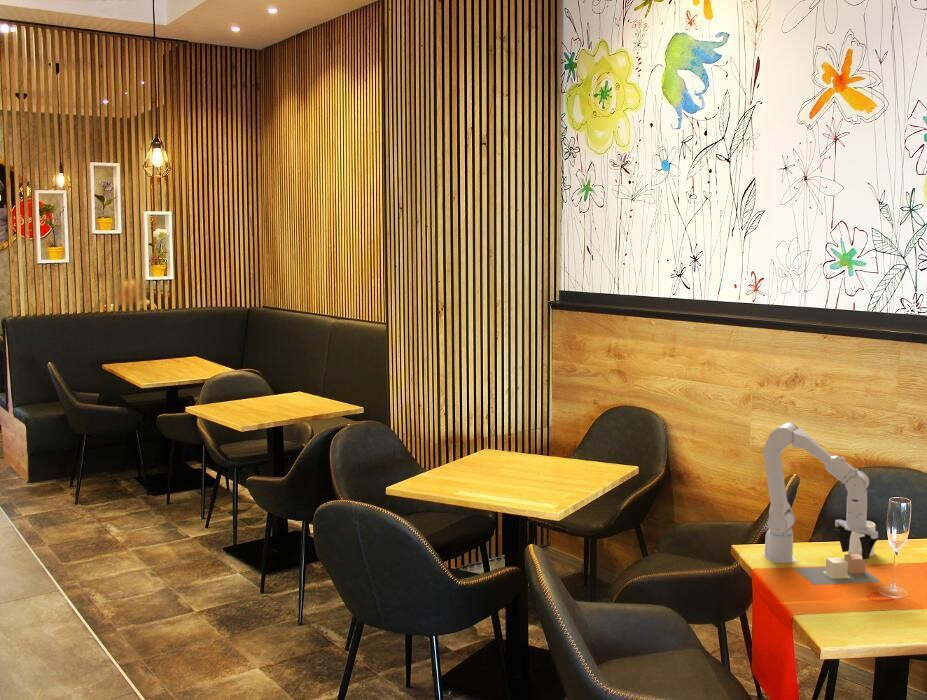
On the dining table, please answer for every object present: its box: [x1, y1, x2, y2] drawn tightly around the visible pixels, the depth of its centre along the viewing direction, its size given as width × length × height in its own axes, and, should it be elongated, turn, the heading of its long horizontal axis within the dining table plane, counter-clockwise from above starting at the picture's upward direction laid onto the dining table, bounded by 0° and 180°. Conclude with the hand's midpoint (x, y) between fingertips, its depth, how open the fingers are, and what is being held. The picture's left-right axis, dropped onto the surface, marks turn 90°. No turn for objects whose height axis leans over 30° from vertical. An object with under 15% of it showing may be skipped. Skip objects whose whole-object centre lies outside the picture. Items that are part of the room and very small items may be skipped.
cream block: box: [825, 556, 848, 578], centre depth 283 cm, size 4×4×4 cm
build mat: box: [792, 566, 882, 586], centre depth 283 cm, size 14×21×1 cm, turn 95°
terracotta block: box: [843, 553, 867, 574], centre depth 286 cm, size 4×4×4 cm
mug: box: [847, 520, 876, 557], centre depth 300 cm, size 12×8×10 cm
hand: (855, 554), depth 285 cm, fingers open, 7 cm apart
